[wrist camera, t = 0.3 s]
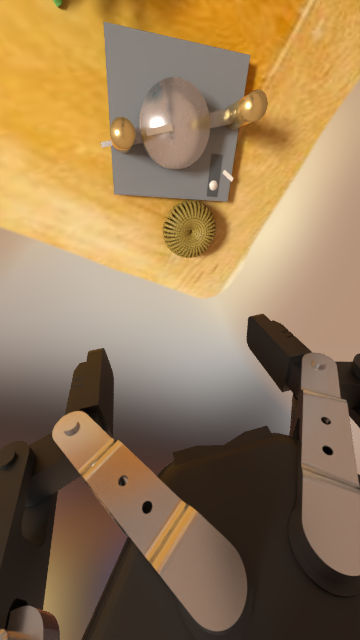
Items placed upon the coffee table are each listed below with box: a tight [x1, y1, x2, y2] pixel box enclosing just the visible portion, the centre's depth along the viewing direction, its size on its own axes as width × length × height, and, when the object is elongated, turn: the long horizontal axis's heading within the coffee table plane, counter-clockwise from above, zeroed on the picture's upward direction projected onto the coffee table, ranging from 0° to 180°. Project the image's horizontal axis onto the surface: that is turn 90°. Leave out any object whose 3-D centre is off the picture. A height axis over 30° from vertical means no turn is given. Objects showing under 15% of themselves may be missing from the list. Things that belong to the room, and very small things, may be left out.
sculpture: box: [163, 201, 216, 258], centre depth 35 cm, size 8×4×8 cm
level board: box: [100, 22, 250, 202], centre depth 29 cm, size 15×18×2 cm
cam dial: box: [110, 77, 267, 169], centre depth 26 cm, size 16×8×6 cm, turn 100°
